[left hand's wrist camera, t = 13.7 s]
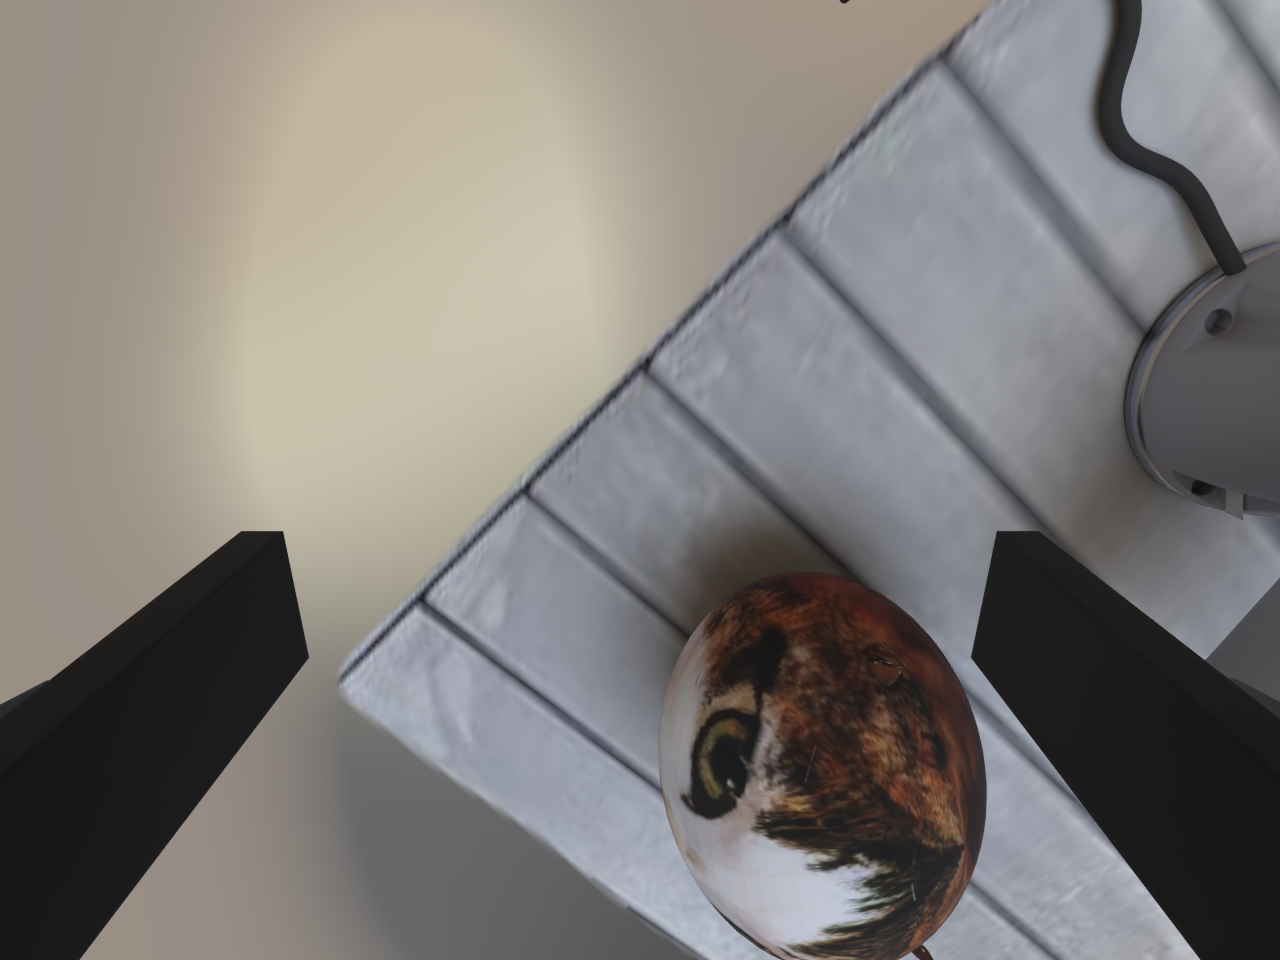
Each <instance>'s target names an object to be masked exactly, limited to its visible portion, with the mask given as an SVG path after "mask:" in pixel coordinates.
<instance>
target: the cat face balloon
mask: <svg viewBox="0 0 1280 960" xmlns="http://www.w3.org/2000/svg"><path fill="white" fill-rule="evenodd" d="M659 772H660V782H661V789H662V795H663V799H664V804H665V809H666V813H667V817H668V820H669V823H670V827H671V830H672V833H673V836H674V838H675V841H676V844H677V846H678V848H679V851H680V853H681V855H682V857H683V859H684V861H685V864H686V866H687V868H688V869H689V871H690V873H691V875H692V876H693V878H694V880H695V881H696V883H697V885H698V886H699V888H700V889H701V891H702V892H703V894H704V895H705V896H706V898H707V899H708V900H709V902H710V903H711V904H712V905H713V907H714V908H715V909H716V910H717V912H718V913H719V914H720V915H721V916H722V917H723V918H724V919H725V920H726V921H727V922H728V923H729V924H730V925H731V926H732V927H733V928H734V929H735V930H736V931H737V932H739V933H740V934H741V935H743V936H744V937H745V938H746V939H748V940H749V941H750V942H752V943H753V944H754V945H756V946H757V947H759V948H760V949H762V950H764V951H766V952H767V953H769V954H771V955H773V956H775V957H777V958H779V959H781V960H898V959H900V958H902V957H904V956H905V955H907V954H909V953H910V952H912V953H913V954H914V955H915V956H916V957H917V958H919V959H920V960H933V958H932V957H931V955H930V953H929V952H928V950H927V949H926V948H925V947H924V945H923V943H924V942H925V941H926V940H927V939H929V938H930V937H931V936H932V935H933V934H934V933H935V932H936V931H937V930H938V929H939V928H940V927H941V925H942V924H943V923H944V922H945V921H946V919H947V918H948V917H949V916H950V915H951V913H952V912H953V910H954V908H955V907H956V905H957V904H958V902H959V900H960V899H961V897H962V895H963V893H964V891H965V889H966V887H967V885H968V883H969V881H970V879H971V876H972V874H973V871H974V868H975V865H976V863H977V859H978V855H979V852H980V848H981V843H982V838H983V834H984V826H985V818H986V801H987V783H986V773H985V763H984V756H983V749H982V745H981V740H980V736H979V732H978V728H977V724H976V721H975V718H974V715H973V712H972V709H971V706H970V704H969V701H968V698H967V696H966V694H965V692H964V690H963V688H962V686H961V683H960V681H959V679H958V678H957V676H956V674H955V672H954V670H953V669H952V667H951V665H950V664H949V662H948V660H947V659H946V657H945V656H944V654H943V653H942V651H941V650H940V649H939V647H938V646H937V645H936V643H935V642H934V641H933V640H932V638H931V637H930V636H929V635H928V634H927V633H926V632H925V631H924V629H923V628H922V627H921V626H920V625H919V624H918V623H917V622H916V621H915V620H914V619H913V618H912V617H911V616H910V615H908V614H907V613H906V612H905V611H904V610H902V609H901V608H900V607H899V606H897V605H896V604H895V603H893V602H892V601H890V600H889V599H887V598H886V597H884V596H883V595H881V594H879V593H878V592H876V591H874V590H872V589H870V588H868V587H866V586H864V585H862V584H859V583H857V582H854V581H851V580H848V579H845V578H842V577H838V576H833V575H828V574H822V573H809V572H800V573H788V574H781V575H777V576H773V577H769V578H765V579H762V580H759V581H757V582H754V583H752V584H750V585H748V586H746V587H744V588H742V589H740V590H738V591H737V592H735V593H733V594H732V595H731V596H729V597H728V598H727V599H725V600H724V601H723V602H721V603H720V604H719V605H718V606H717V607H715V608H714V609H713V610H712V611H711V612H710V613H709V614H708V615H707V617H706V618H705V619H704V620H703V621H702V622H701V624H700V625H699V626H698V627H697V628H696V630H695V631H694V633H693V634H692V635H691V637H690V638H689V640H688V642H687V643H686V645H685V647H684V648H683V650H682V652H681V654H680V656H679V658H678V660H677V663H676V665H675V667H674V670H673V672H672V675H671V678H670V681H669V684H668V687H667V691H666V694H665V698H664V703H663V708H662V713H661V720H660V728H659Z"/></svg>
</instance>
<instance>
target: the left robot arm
mask: <svg viewBox="0 0 1280 960" xmlns="http://www.w3.org/2000/svg"><path fill="white" fill-rule="evenodd" d="M848 1H850V0H840V2H841V3H844V4H846V3H847V2H848ZM1117 3H1118V13H1119V22H1118V31H1117V37H1116V41H1115V46H1114V49H1113V53H1112V56H1111V59H1110V62H1109V66H1108V69H1107V72H1106V75H1105V79H1104V83H1103V87H1102V91H1101V97H1100V105H1099V117H1100V125H1101V129H1102V133H1103V136H1104V138H1105V140H1106V142H1107V144H1108V146H1109V147H1110V149H1111V150H1112V152H1113V153H1114V154H1115V155H1116V156H1117V157H1118V158H1119V159H1121V160H1122V161H1124V162H1125V163H1127V164H1129V165H1130V166H1132V167H1134V168H1137V169H1139V170H1141V171H1144V172H1146V173H1149V174H1151V175H1153V176H1156V177H1158V178H1160V179H1162V180H1163V181H1165V182H1167V183H1168V184H1170V185H1171V186H1172V187H1174V188H1175V189H1176V190H1177V191H1178V192H1179V194H1180V195H1181V196H1182V197H1183V199H1184V200H1185V201H1186V203H1187V205H1188V206H1189V208H1190V210H1191V212H1192V214H1193V216H1194V218H1195V220H1196V222H1197V224H1198V226H1199V229H1200V231H1201V232H1202V234H1203V236H1204V238H1205V240H1206V242H1207V243H1208V245H1209V247H1210V249H1211V251H1212V252H1213V254H1214V256H1215V258H1216V260H1217V262H1218V263H1219V265H1220V266H1218V267H1216V268H1215V269H1213V270H1212V271H1210V272H1209V273H1207V274H1206V275H1204V276H1203V277H1202V278H1201V279H1199V280H1198V281H1197V282H1195V283H1194V284H1193V285H1192V286H1191V287H1189V288H1188V289H1187V290H1186V291H1185V292H1184V293H1183V294H1182V295H1181V296H1180V297H1179V298H1178V299H1177V300H1176V301H1175V302H1174V303H1173V304H1172V305H1171V306H1170V307H1169V308H1168V309H1167V311H1166V312H1165V313H1164V314H1163V315H1162V317H1161V318H1160V319H1159V321H1158V322H1157V323H1156V325H1155V326H1154V328H1153V329H1152V331H1151V332H1150V334H1149V336H1148V337H1147V339H1146V340H1145V342H1144V344H1143V346H1142V348H1141V350H1140V352H1139V354H1138V356H1137V359H1136V361H1135V364H1134V366H1133V369H1132V373H1131V376H1130V379H1129V383H1128V389H1127V394H1126V404H1125V419H1126V427H1127V433H1128V437H1129V441H1130V443H1131V446H1132V449H1133V451H1134V453H1135V455H1136V457H1137V459H1138V460H1139V462H1140V463H1141V465H1142V466H1143V467H1144V469H1145V470H1146V471H1147V472H1148V473H1149V474H1150V475H1151V476H1152V477H1153V478H1154V479H1155V480H1156V481H1158V482H1159V483H1160V484H1162V485H1163V486H1165V487H1166V488H1168V489H1170V490H1172V491H1174V492H1176V493H1178V494H1180V495H1182V496H1184V497H1186V498H1188V499H1190V500H1192V501H1194V502H1196V503H1199V504H1202V505H1205V506H1209V507H1212V508H1216V509H1219V510H1223V511H1226V512H1227V513H1229V514H1231V515H1233V516H1235V517H1237V518H1239V519H1241V520H1243V514H1251V515H1260V516H1268V517H1277V518H1280V242H1277V243H1273V244H1269V245H1265V246H1262V247H1259V248H1256V249H1253V250H1250V251H1248V252H1245V253H1243V254H1241V255H1240V253H1239V251H1238V249H1237V247H1236V246H1235V244H1234V242H1233V240H1232V238H1231V236H1230V235H1229V233H1228V231H1227V229H1226V227H1225V225H1224V224H1223V222H1222V220H1221V218H1220V216H1219V213H1218V211H1217V209H1216V207H1215V205H1214V203H1213V201H1212V199H1211V197H1210V195H1209V193H1208V192H1207V190H1206V189H1205V187H1204V186H1203V184H1202V183H1201V182H1200V181H1199V179H1198V178H1197V177H1196V176H1195V175H1194V174H1193V173H1192V172H1191V171H1189V170H1188V169H1187V168H1185V167H1184V166H1182V165H1181V164H1179V163H1177V162H1176V161H1173V160H1171V159H1169V158H1167V157H1165V156H1162V155H1160V154H1157V153H1155V152H1153V151H1150V150H1148V149H1146V148H1144V147H1143V146H1141V145H1140V144H1138V143H1137V142H1136V141H1135V140H1134V139H1133V138H1132V137H1131V136H1130V135H1129V133H1128V132H1127V130H1126V128H1125V125H1124V123H1123V119H1122V114H1121V98H1122V93H1123V88H1124V84H1125V80H1126V77H1127V73H1128V70H1129V67H1130V64H1131V61H1132V58H1133V55H1134V51H1135V48H1136V44H1137V40H1138V36H1139V31H1140V25H1141V14H1142V4H1141V0H1117ZM308 658H309V655H308V650H307V646H306V641H305V636H304V631H303V626H302V621H301V616H300V611H299V607H298V602H297V597H296V592H295V587H294V582H293V578H292V573H291V568H290V563H289V558H288V553H287V548H286V544H285V539H284V534H283V531H241V532H240V533H238V534H237V535H236V536H235V537H233V538H232V539H231V540H229V541H228V542H227V543H226V544H224V545H223V546H222V547H220V548H219V549H218V550H217V551H215V552H214V553H213V554H211V555H210V556H209V557H208V558H206V559H205V560H204V561H202V562H201V563H200V564H199V565H197V566H196V567H195V568H193V569H192V570H191V571H190V572H188V573H187V574H186V575H184V576H183V577H182V578H181V579H179V580H178V581H177V582H175V583H174V584H173V585H172V586H170V587H169V588H168V589H166V590H165V591H164V592H163V593H161V594H160V595H159V596H157V597H156V598H155V599H154V600H152V601H151V602H150V603H148V604H147V605H146V606H145V607H143V608H142V609H141V610H139V611H138V612H137V613H135V614H134V615H133V616H132V617H130V618H129V619H128V620H126V621H125V622H124V623H123V624H121V625H120V626H119V627H117V628H116V629H115V630H114V631H112V632H111V633H110V634H109V635H107V636H106V637H105V638H103V639H102V640H101V641H99V642H98V643H97V644H96V645H94V646H93V647H92V648H91V649H89V650H88V651H87V652H85V653H84V654H83V655H81V656H80V657H79V658H78V659H76V660H75V661H74V662H72V663H71V664H70V665H69V666H67V667H66V668H65V669H63V670H62V671H61V672H60V673H58V674H57V675H56V676H54V677H53V678H52V679H51V680H49V681H45V682H43V683H41V684H39V685H37V686H35V687H33V688H31V689H29V690H28V691H26V692H24V693H22V694H20V695H18V696H16V697H14V698H12V699H10V700H8V701H6V702H4V703H2V704H1V705H0V960H80V958H81V957H82V956H83V954H84V953H85V952H86V951H87V949H88V948H89V947H90V945H91V944H92V943H93V941H94V940H95V939H96V937H97V936H98V935H99V933H100V932H101V931H102V929H103V928H104V927H105V925H106V924H107V923H108V922H109V920H110V919H111V918H112V916H113V915H114V914H115V912H116V911H117V910H118V908H119V907H120V906H121V904H122V903H123V902H124V900H125V899H126V898H127V897H128V895H129V894H130V893H131V891H132V890H133V889H134V887H135V886H136V885H137V883H138V882H139V881H140V879H141V878H142V877H143V875H144V874H145V873H146V871H147V870H148V869H149V868H150V866H151V865H152V864H153V862H154V861H155V860H156V858H157V857H158V856H159V854H160V853H161V852H162V850H163V849H164V848H165V846H166V845H167V844H168V843H169V841H170V840H171V839H172V837H173V836H174V835H175V833H176V832H177V831H178V829H179V828H180V827H181V825H182V824H183V823H184V821H185V820H186V819H187V818H188V816H189V815H190V814H191V812H192V811H193V810H194V808H195V807H196V806H197V804H198V803H199V802H200V800H201V799H202V798H203V796H204V795H205V794H206V792H207V791H208V790H209V789H210V787H211V786H212V785H213V783H214V782H215V781H216V779H217V778H218V777H219V775H220V774H221V773H222V771H223V770H224V769H225V767H226V766H227V765H228V764H229V762H230V761H231V760H232V758H233V757H234V756H235V754H236V753H237V752H238V750H239V749H240V748H241V746H242V745H243V744H244V742H245V741H246V740H247V738H248V737H249V736H250V734H251V733H252V732H253V731H254V729H255V728H256V727H257V725H258V724H259V723H260V721H261V720H262V719H263V717H264V716H265V715H266V713H267V712H268V711H269V710H270V708H271V707H272V706H273V704H274V703H275V702H276V700H277V699H278V698H279V696H280V695H281V694H282V692H283V691H284V690H285V688H286V687H287V686H288V685H289V683H290V682H291V680H292V679H293V678H294V677H295V675H296V674H297V673H298V671H299V670H300V669H301V667H302V666H303V665H304V663H305V662H306V661H307V659H308ZM971 658H972V659H973V661H974V662H975V663H976V665H977V666H978V667H979V669H980V670H981V671H982V673H983V674H984V675H985V677H986V678H987V679H988V681H989V682H990V683H991V685H992V686H993V687H994V688H995V690H996V691H997V692H998V694H999V695H1000V696H1001V698H1002V699H1003V700H1004V702H1005V703H1006V704H1007V706H1008V707H1009V708H1010V710H1011V711H1012V712H1013V713H1014V715H1015V716H1016V717H1017V719H1018V720H1019V721H1020V723H1021V724H1022V725H1023V727H1024V728H1025V729H1026V731H1027V732H1028V733H1029V735H1030V736H1031V737H1032V739H1033V740H1034V741H1035V742H1036V744H1037V745H1038V746H1039V748H1040V749H1041V750H1042V752H1043V753H1044V754H1045V756H1046V757H1047V758H1048V760H1049V761H1050V762H1051V764H1052V765H1053V766H1054V767H1055V769H1056V770H1057V771H1058V773H1059V774H1060V775H1061V777H1062V778H1063V779H1064V781H1065V782H1066V783H1067V785H1068V786H1069V787H1070V789H1071V790H1072V791H1073V792H1074V794H1075V795H1076V796H1077V798H1078V799H1079V800H1080V802H1081V803H1082V804H1083V806H1084V807H1085V808H1086V810H1087V811H1088V812H1089V814H1090V815H1091V816H1092V818H1093V819H1094V820H1095V821H1096V823H1097V824H1098V825H1099V827H1100V828H1101V829H1102V831H1103V832H1104V833H1105V835H1106V836H1107V837H1108V839H1109V840H1110V841H1111V843H1112V844H1113V845H1114V846H1115V848H1116V849H1117V850H1118V852H1119V853H1120V854H1121V856H1122V857H1123V858H1124V860H1125V861H1126V862H1127V864H1128V865H1129V866H1130V868H1131V869H1132V870H1133V872H1134V873H1135V874H1136V875H1137V877H1138V878H1139V879H1140V881H1141V882H1142V883H1143V885H1144V886H1145V887H1146V889H1147V890H1148V891H1149V893H1150V894H1151V895H1152V897H1153V898H1154V899H1155V900H1156V902H1157V903H1158V904H1159V906H1160V907H1161V908H1162V910H1163V911H1164V912H1165V914H1166V915H1167V916H1168V918H1169V919H1170V920H1171V922H1172V923H1173V924H1174V925H1175V927H1176V928H1177V929H1178V931H1179V932H1180V933H1181V935H1182V936H1183V937H1184V939H1185V940H1186V941H1187V943H1188V944H1189V945H1190V947H1191V948H1192V949H1193V951H1194V952H1195V953H1196V954H1197V956H1198V957H1199V958H1200V960H1280V578H1279V579H1278V581H1277V582H1276V583H1275V584H1274V585H1273V586H1272V587H1271V588H1270V589H1269V590H1268V592H1267V593H1266V594H1265V595H1264V596H1263V597H1262V598H1261V599H1260V600H1259V602H1258V603H1257V604H1256V605H1255V606H1254V607H1253V608H1252V609H1251V610H1250V612H1249V613H1248V614H1247V615H1246V616H1245V617H1244V618H1243V619H1242V620H1241V621H1240V623H1239V624H1238V625H1237V626H1236V627H1235V628H1234V629H1233V630H1232V631H1231V633H1230V634H1229V635H1228V636H1227V637H1226V638H1225V639H1224V640H1223V641H1222V642H1221V644H1220V645H1219V646H1218V647H1217V648H1216V649H1215V650H1214V651H1213V652H1212V654H1211V655H1210V656H1209V657H1208V658H1207V659H1206V660H1204V659H1202V658H1201V657H1200V656H1199V655H1197V654H1196V653H1195V652H1193V651H1192V650H1191V649H1190V648H1188V647H1187V646H1186V645H1184V644H1183V643H1182V642H1181V641H1179V640H1178V639H1177V638H1175V637H1174V636H1173V635H1172V634H1170V633H1169V632H1168V631H1166V630H1165V629H1164V628H1163V627H1161V626H1160V625H1159V624H1157V623H1156V622H1155V621H1154V620H1152V619H1151V618H1150V617H1148V616H1147V615H1146V614H1145V613H1143V612H1142V611H1141V610H1139V609H1138V608H1137V607H1136V606H1134V605H1133V604H1132V603H1130V602H1129V601H1128V600H1126V599H1125V598H1124V597H1123V596H1121V595H1120V594H1119V593H1117V592H1116V591H1115V590H1114V589H1112V588H1111V587H1110V586H1108V585H1107V584H1106V583H1105V582H1103V581H1102V580H1101V579H1099V578H1098V577H1097V576H1096V575H1094V574H1093V573H1092V572H1090V571H1089V570H1088V569H1087V568H1085V567H1084V566H1083V565H1081V564H1080V563H1079V562H1078V561H1076V560H1075V559H1074V558H1072V557H1071V556H1070V555H1069V554H1067V553H1066V552H1065V551H1063V550H1062V549H1061V548H1060V547H1058V546H1057V545H1056V544H1054V543H1053V542H1052V541H1051V540H1049V539H1048V538H1047V537H1045V536H1044V535H1043V534H1042V533H1040V532H1039V531H997V534H996V539H995V543H994V548H993V553H992V558H991V563H990V568H989V573H988V577H987V582H986V587H985V592H984V597H983V602H982V607H981V611H980V616H979V621H978V626H977V631H976V636H975V641H974V645H973V650H972V655H971Z"/></svg>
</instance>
